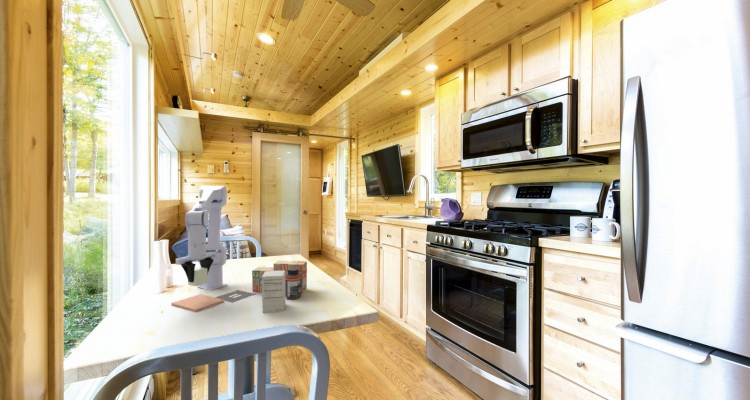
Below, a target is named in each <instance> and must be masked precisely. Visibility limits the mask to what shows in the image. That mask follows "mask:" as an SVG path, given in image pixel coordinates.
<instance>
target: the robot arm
mask: <svg viewBox="0 0 750 400" xmlns="http://www.w3.org/2000/svg"><path fill="white" fill-rule="evenodd" d="M227 192H228V191H227V187H226V186H225V185H201V186H200V188H199V193H198V194H199V198H200V199H199V200H197V201H196V202H195V204H194V205H193V207H192V209H191V210H189V211H187V212H186V213H185V216H184V223H185V227H186V229H185V230H186V232H187V255H186V256H183V257H182V256H181V257H178V258H175V265H176V266H177V265H178V266H180V267H182V269H183V270H184V272H185V275H186V279H187V280H188V281H187V283H188V282H194V269H195V268H196V263H193V262H198V263H199V266H200V267H202V268H207V281H208V283H206V284H202V285H199V286H196V287H197V288H199V289H203V290H209V291H212V290H216V289H220V288H223V287H227V286H228V284H227V283H224V282H223V280H224V279H223V278H224V277H223V266H224V265H225V264H226V262H227V249H226V247H225V246H224V245H222V244H221V243H220V241H221V240H220V239H221V222H222V221H221V218H222V209H223V207H224V206H226V205H227V198H228V196H227V195H228V193H227ZM207 225H208V228H207Z"/></svg>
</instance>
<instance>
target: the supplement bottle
mask: <svg viewBox="0 0 750 400" xmlns="http://www.w3.org/2000/svg"><path fill="white" fill-rule="evenodd" d="M285 285H286V293H285V299H288V300H297V299H299V298H301V297H302V294H301V275H300V274H299V273H298V268H289V269H288V274H287V275H286V276H285Z"/></svg>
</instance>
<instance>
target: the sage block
mask: <svg viewBox="0 0 750 400" xmlns="http://www.w3.org/2000/svg"><path fill="white" fill-rule="evenodd" d="M206 283H208V281H207V268H202V267H201V266H198V267H195V269H194V282H188V281H187V285H189V286H194V287H197V286H199V285H202V284H206Z"/></svg>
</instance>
